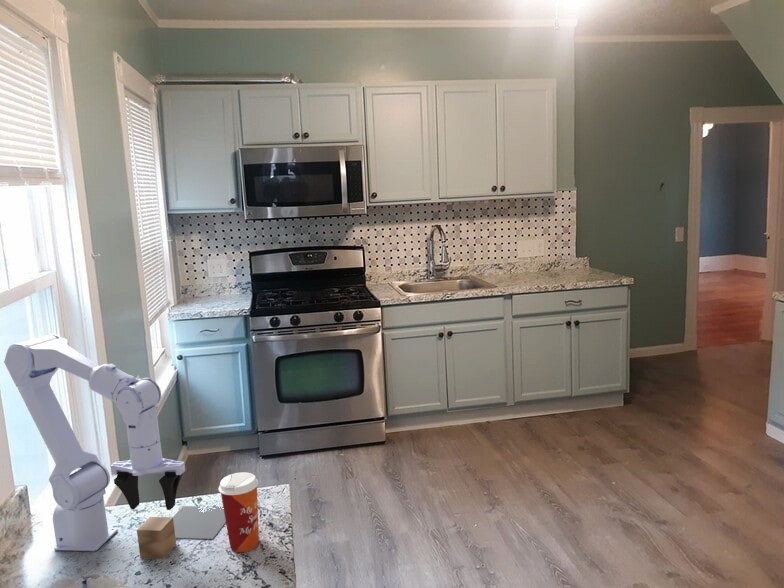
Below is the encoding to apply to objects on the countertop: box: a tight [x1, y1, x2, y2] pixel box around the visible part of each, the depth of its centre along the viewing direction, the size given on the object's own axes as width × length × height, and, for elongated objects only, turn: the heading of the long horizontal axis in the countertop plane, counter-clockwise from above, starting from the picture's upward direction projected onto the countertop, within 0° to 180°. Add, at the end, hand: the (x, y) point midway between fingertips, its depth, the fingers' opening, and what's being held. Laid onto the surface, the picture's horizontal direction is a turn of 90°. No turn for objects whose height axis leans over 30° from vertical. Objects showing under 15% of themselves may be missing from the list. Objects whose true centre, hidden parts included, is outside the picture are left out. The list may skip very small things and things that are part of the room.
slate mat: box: [172, 505, 226, 540], centre depth 133 cm, size 13×13×1 cm
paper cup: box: [218, 471, 260, 553], centre depth 122 cm, size 8×8×14 cm
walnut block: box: [136, 516, 177, 560], centre depth 123 cm, size 5×5×6 cm
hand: (153, 507), depth 122 cm, fingers open, 7 cm apart
